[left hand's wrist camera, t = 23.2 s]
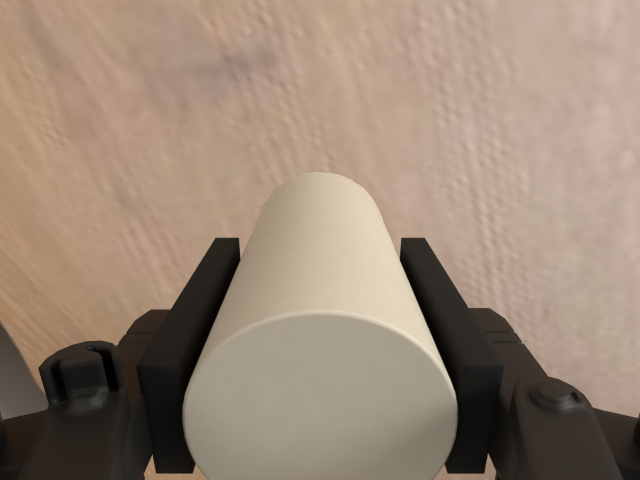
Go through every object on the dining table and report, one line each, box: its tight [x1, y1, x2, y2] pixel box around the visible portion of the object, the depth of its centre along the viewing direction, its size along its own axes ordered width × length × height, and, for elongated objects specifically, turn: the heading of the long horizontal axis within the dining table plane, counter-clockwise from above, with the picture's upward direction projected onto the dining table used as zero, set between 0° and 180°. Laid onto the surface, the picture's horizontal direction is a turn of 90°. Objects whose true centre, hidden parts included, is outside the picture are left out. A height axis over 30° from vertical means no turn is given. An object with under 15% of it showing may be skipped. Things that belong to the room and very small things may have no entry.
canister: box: [182, 172, 458, 480], centre depth 13 cm, size 5×5×11 cm
